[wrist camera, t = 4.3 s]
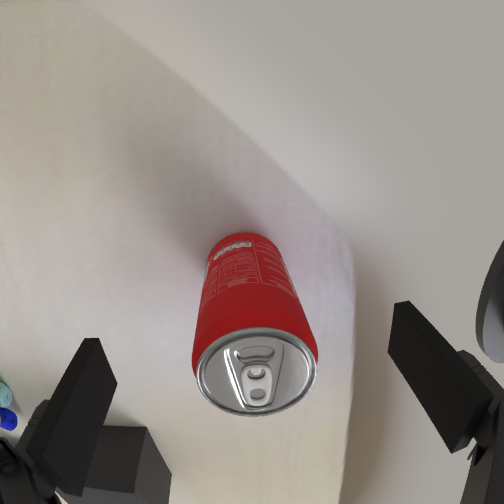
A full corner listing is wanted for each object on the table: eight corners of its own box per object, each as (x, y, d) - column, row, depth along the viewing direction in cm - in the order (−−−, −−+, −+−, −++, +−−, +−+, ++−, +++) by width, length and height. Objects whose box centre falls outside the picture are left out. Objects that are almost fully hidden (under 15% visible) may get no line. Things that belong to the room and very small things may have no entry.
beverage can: (279, 225, 22) (327, 316, 11) (281, 293, 24) (318, 413, 13) (204, 230, 22) (179, 327, 11) (211, 298, 24) (200, 423, 13)
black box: (148, 426, 29) (134, 493, 21) (173, 475, 32) (168, 532, 24) (65, 420, 28) (41, 477, 20) (100, 469, 32) (86, 520, 24)
